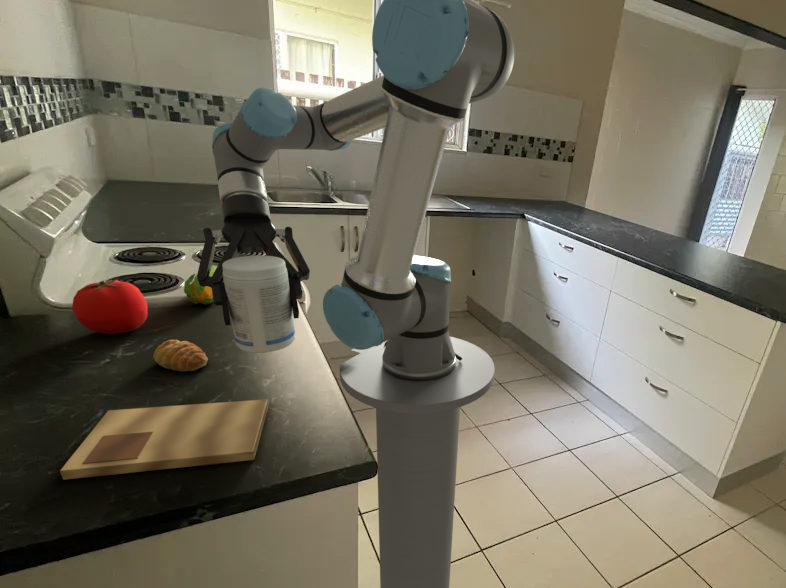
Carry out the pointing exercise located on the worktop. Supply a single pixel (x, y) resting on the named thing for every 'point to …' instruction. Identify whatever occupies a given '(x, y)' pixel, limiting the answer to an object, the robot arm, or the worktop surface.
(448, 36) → the robot arm
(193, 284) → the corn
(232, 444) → the cutting board
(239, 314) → the supplement tub
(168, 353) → the pastry
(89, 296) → the tomato
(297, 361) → the worktop surface
